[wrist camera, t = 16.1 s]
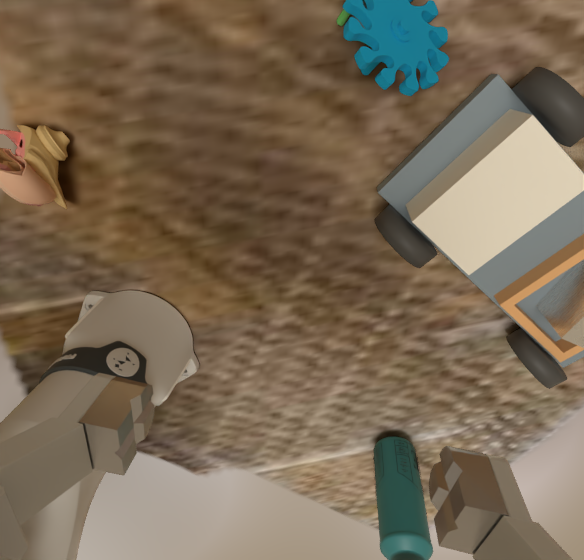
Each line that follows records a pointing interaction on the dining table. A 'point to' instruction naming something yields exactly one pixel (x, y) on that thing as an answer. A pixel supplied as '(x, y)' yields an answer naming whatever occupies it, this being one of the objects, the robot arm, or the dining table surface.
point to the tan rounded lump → (33, 165)
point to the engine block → (567, 305)
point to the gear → (396, 40)
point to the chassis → (500, 204)
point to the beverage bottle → (400, 501)
